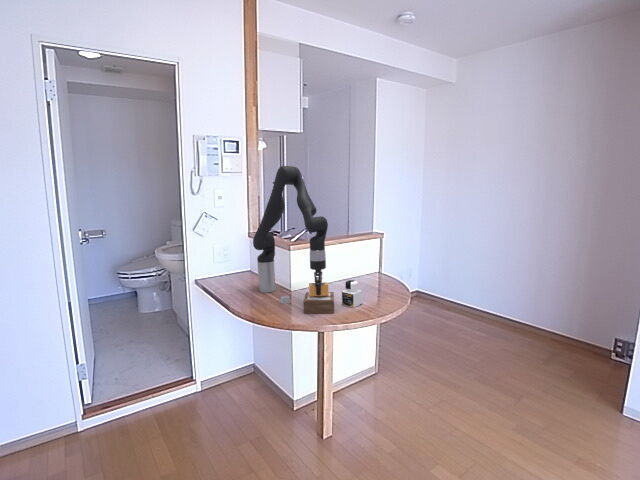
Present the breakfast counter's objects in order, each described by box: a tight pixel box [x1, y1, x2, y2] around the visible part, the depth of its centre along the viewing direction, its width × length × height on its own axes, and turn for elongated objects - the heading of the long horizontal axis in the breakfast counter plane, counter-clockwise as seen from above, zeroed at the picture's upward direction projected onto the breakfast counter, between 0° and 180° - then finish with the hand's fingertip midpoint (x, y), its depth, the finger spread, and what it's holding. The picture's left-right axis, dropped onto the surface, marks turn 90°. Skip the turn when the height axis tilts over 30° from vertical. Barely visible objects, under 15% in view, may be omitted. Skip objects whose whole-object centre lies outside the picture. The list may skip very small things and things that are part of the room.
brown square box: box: [303, 291, 335, 315], centre depth 181 cm, size 14×14×6 cm
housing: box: [308, 281, 330, 296], centre depth 180 cm, size 9×5×5 cm, turn 94°
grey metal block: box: [280, 295, 291, 305], centre depth 192 cm, size 4×4×3 cm
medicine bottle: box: [341, 279, 363, 308], centre depth 185 cm, size 7×7×12 cm
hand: (318, 292), depth 181 cm, fingers closed on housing, 5 cm apart
